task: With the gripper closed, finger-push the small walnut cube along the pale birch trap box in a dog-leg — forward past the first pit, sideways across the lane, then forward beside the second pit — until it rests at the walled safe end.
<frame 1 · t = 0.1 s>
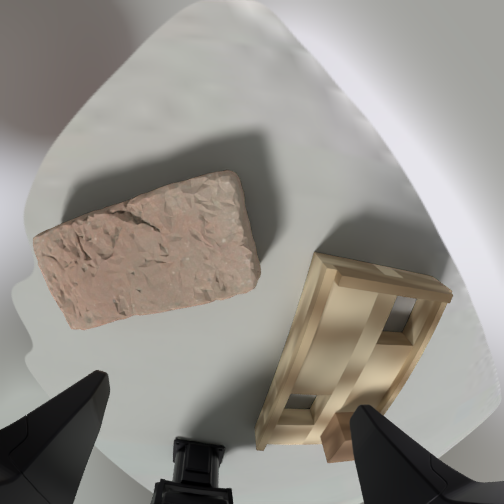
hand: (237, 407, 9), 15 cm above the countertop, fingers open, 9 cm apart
brick: (149, 243, 22), on the countertop
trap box: (340, 365, 27), on the countertop
walnut block: (345, 424, 27), point 2 cm above the countertop, touching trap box
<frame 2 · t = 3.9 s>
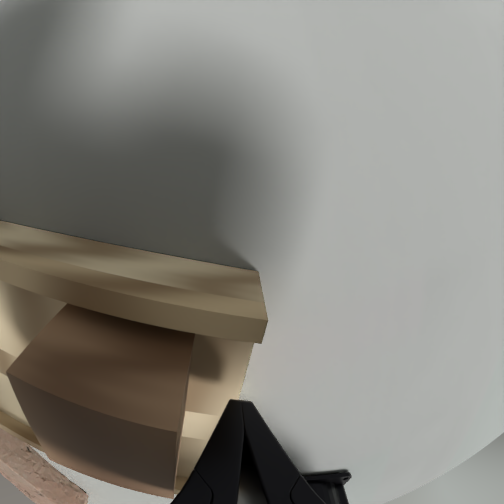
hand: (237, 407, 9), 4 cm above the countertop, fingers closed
brick: (23, 449, 17), on the countertop
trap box: (33, 341, 12), on the countertop
walnut block: (129, 366, 9), point 2 cm above the countertop, touching gripper, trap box
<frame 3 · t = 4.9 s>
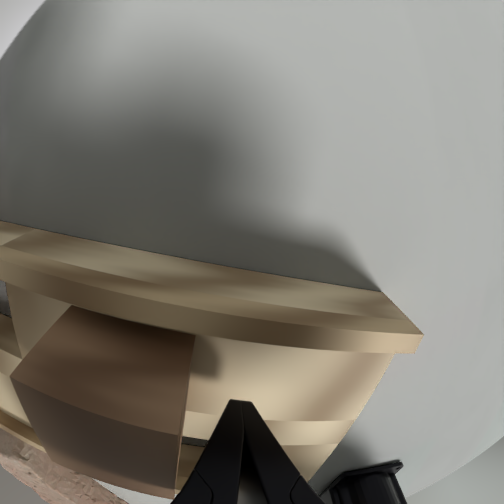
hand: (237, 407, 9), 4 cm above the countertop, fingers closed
brick: (65, 469, 17), on the countertop
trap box: (123, 371, 12), on the countertop
walnut block: (130, 369, 9), point 3 cm above the countertop, touching gripper, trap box
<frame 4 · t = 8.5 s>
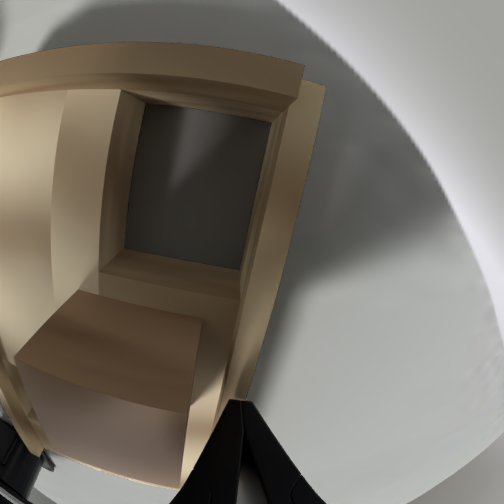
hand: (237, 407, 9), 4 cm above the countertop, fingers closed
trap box: (104, 333, 12), on the countertop
walnut block: (135, 356, 9), point 3 cm above the countertop, touching gripper
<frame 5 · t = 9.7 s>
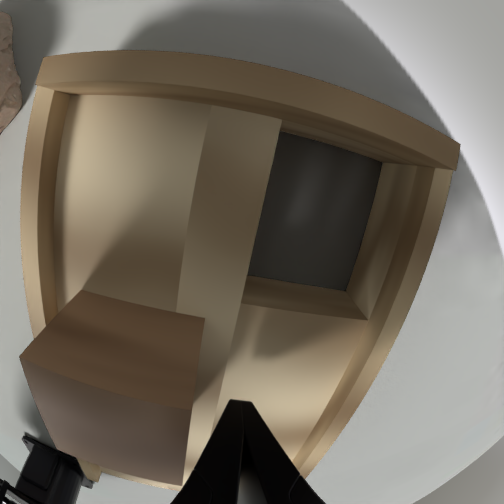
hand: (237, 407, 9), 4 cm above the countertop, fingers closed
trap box: (199, 356, 13), on the countertop
walnut block: (138, 355, 10), point 2 cm above the countertop, touching gripper, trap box
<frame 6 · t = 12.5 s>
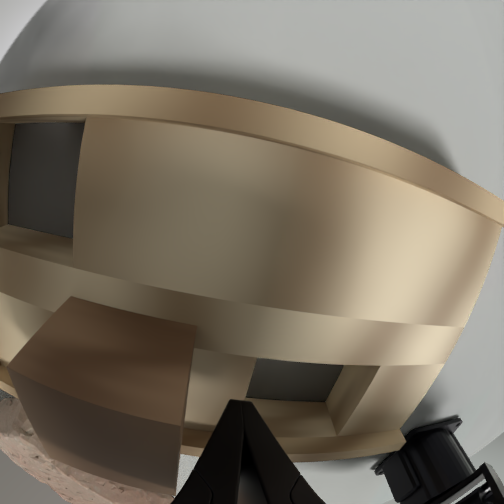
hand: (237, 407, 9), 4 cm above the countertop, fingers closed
brick: (87, 457, 16), on the countertop
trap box: (208, 290, 11), on the countertop
walnut block: (129, 362, 9), point 3 cm above the countertop, touching gripper
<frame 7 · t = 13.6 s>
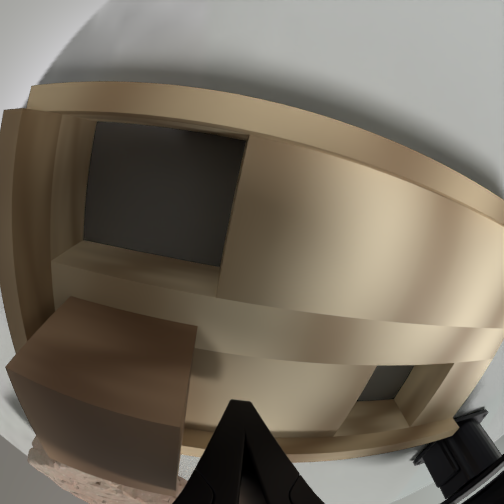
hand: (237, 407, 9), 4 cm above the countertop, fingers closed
brick: (138, 473, 17), on the countertop
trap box: (323, 307, 12), on the countertop
walnut block: (130, 363, 9), point 2 cm above the countertop, touching gripper, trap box
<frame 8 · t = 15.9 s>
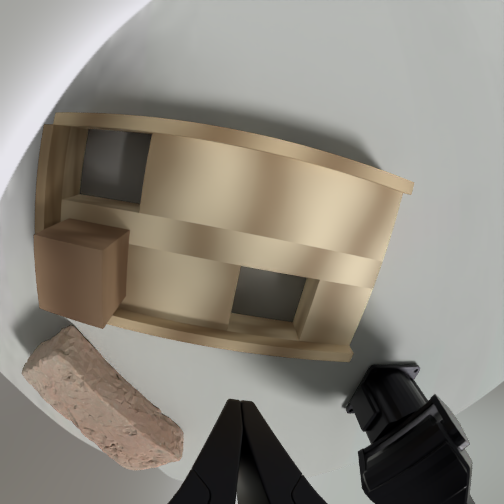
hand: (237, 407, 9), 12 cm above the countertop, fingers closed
brick: (108, 393, 24), on the countertop
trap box: (213, 232, 19), on the countertop
walnut block: (96, 257, 16), point 2 cm above the countertop, touching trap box
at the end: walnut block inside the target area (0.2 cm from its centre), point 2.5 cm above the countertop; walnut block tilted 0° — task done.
